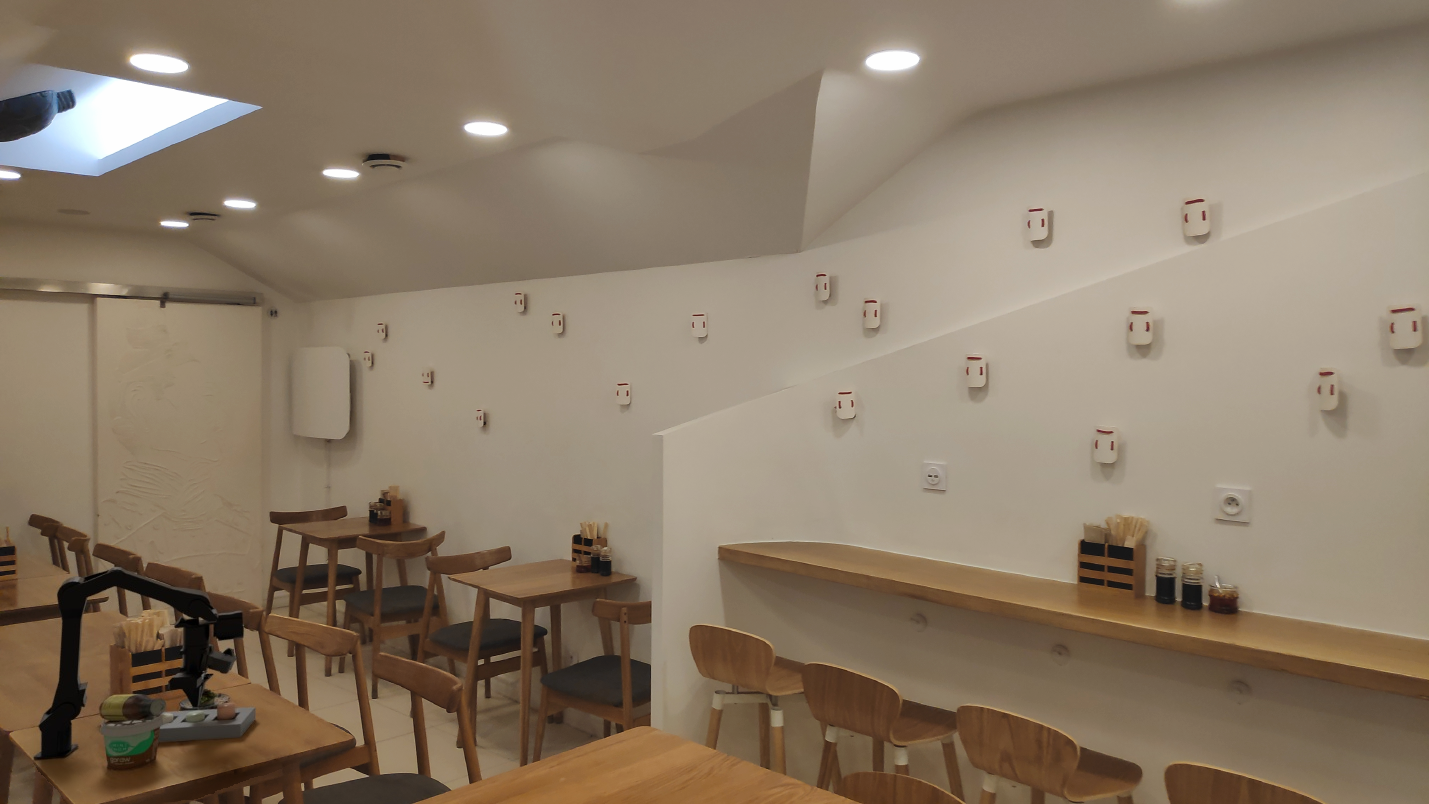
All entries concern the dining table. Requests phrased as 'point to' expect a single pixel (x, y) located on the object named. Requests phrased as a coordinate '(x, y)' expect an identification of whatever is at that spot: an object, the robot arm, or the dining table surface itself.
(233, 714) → the terracotta button
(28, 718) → the dining table surface
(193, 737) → the panel
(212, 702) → the burger
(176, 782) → the dining table surface
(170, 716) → the cream button
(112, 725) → the food container
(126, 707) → the sauce bottle
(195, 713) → the sage button
